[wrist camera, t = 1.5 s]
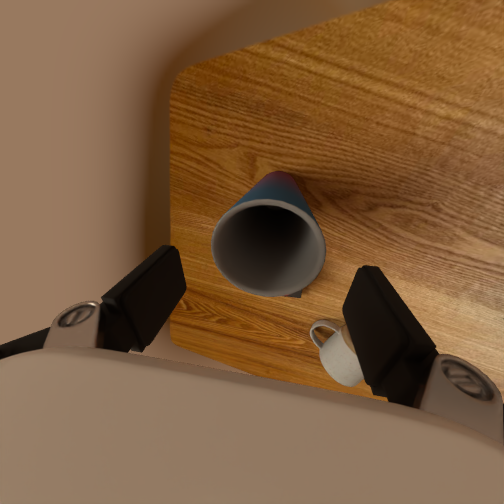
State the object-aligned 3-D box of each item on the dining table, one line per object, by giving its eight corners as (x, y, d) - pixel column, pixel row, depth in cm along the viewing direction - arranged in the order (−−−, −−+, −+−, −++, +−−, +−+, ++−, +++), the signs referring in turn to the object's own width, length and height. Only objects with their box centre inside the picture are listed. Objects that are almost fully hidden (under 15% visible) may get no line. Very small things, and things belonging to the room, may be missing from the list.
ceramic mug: (376, 327, 33) (397, 373, 27) (351, 350, 38) (364, 393, 31) (320, 309, 33) (328, 350, 27) (302, 333, 38) (305, 374, 31)
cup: (288, 150, 21) (290, 170, 8) (313, 201, 23) (344, 276, 11) (241, 183, 24) (188, 235, 11) (268, 225, 26) (250, 307, 14)
